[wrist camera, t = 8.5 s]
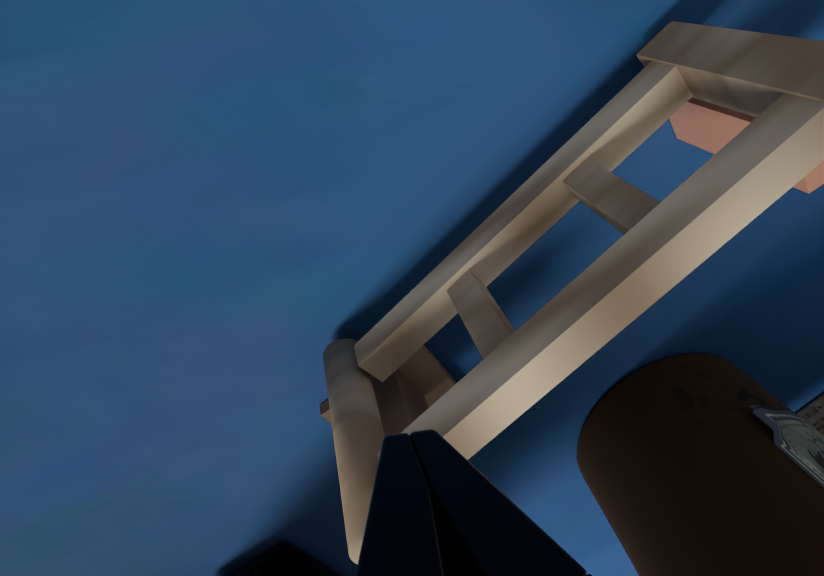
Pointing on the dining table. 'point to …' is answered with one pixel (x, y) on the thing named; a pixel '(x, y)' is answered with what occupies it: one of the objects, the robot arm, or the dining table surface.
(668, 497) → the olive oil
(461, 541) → the robot arm
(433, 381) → the hinge post
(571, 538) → the dining table surface
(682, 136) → the post
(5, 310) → the dining table surface
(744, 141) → the gate
